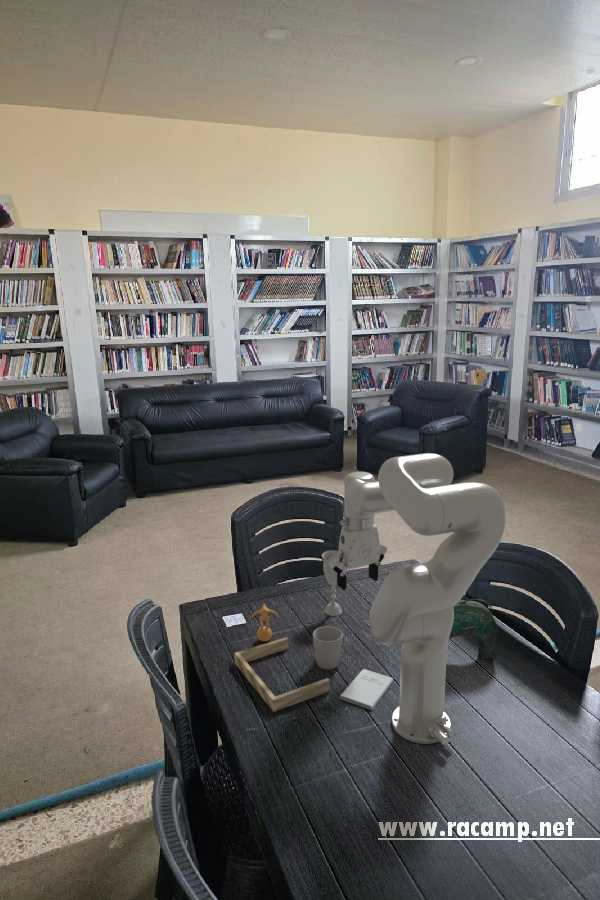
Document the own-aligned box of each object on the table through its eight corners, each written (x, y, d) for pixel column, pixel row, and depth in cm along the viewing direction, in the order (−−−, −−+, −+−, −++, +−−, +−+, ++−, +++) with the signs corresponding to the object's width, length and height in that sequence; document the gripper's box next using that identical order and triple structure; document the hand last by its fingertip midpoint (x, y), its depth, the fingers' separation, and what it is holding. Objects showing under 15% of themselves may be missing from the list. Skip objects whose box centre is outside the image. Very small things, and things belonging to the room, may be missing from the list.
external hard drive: (339, 701, 145) (362, 673, 155) (372, 712, 141) (393, 683, 151) (339, 695, 144) (362, 667, 155) (372, 706, 140) (393, 677, 151)
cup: (314, 673, 154) (314, 642, 152) (310, 651, 164) (310, 622, 162) (344, 671, 155) (344, 641, 153) (339, 649, 165) (339, 620, 163)
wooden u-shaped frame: (329, 691, 147) (329, 680, 147) (273, 711, 140) (273, 700, 140) (286, 647, 166) (286, 637, 165) (234, 663, 159) (234, 652, 158)
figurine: (279, 635, 172) (278, 596, 169) (281, 647, 166) (280, 606, 163) (249, 637, 171) (247, 598, 168) (250, 649, 165) (248, 608, 162)
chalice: (345, 617, 181) (345, 560, 176) (322, 617, 181) (321, 560, 177) (344, 605, 188) (344, 550, 184) (321, 605, 188) (321, 550, 184)
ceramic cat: (420, 665, 157) (423, 592, 153) (415, 650, 164) (417, 581, 159) (498, 662, 158) (503, 590, 153) (489, 648, 164) (494, 579, 159)
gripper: (337, 533, 148) (337, 598, 152) (396, 519, 156) (393, 581, 160) (321, 522, 154) (321, 585, 159) (378, 510, 162) (376, 570, 167)
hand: (357, 583), depth 159 cm, fingers open, 9 cm apart
